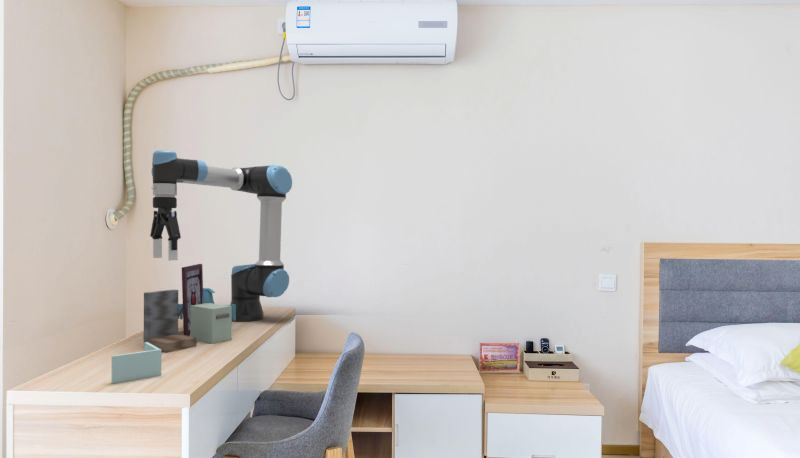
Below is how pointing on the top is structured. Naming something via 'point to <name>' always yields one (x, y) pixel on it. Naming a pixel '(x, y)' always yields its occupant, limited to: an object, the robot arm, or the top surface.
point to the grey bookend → (164, 322)
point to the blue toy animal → (208, 299)
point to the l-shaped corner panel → (137, 364)
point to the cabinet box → (210, 322)
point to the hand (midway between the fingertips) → (165, 259)
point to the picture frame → (191, 292)
